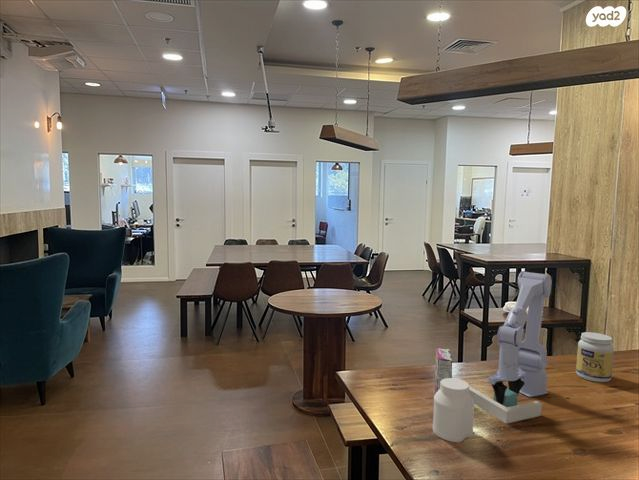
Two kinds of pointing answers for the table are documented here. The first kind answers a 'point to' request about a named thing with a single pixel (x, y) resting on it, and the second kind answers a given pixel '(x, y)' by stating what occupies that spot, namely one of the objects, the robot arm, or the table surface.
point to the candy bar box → (442, 366)
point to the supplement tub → (595, 357)
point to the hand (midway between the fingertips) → (506, 401)
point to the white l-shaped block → (506, 408)
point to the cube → (509, 398)
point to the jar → (453, 410)
